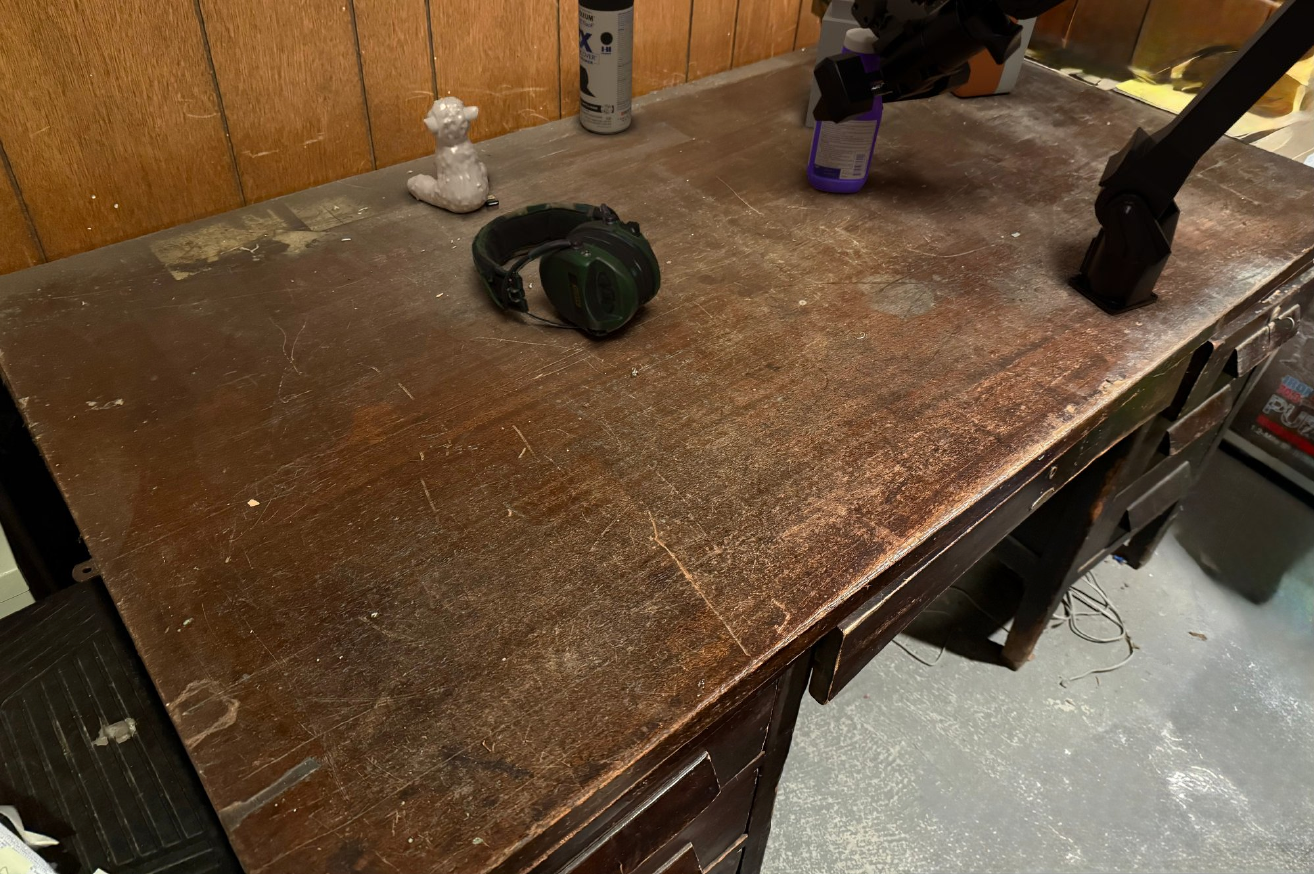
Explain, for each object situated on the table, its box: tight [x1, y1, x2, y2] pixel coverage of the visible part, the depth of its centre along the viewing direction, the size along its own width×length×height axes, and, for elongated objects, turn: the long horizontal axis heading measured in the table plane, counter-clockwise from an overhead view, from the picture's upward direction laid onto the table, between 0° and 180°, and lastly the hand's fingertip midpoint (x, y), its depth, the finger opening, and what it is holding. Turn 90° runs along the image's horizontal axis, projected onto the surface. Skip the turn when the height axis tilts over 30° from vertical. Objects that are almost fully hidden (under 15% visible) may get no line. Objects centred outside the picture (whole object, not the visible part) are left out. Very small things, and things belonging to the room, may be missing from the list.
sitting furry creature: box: [406, 96, 490, 214], centre depth 96 cm, size 10×9×12 cm
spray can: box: [577, 0, 635, 135], centre depth 109 cm, size 7×7×20 cm
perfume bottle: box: [804, 0, 870, 129], centre depth 113 cm, size 7×7×18 cm
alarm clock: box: [922, 0, 1038, 98], centre depth 125 cm, size 18×9×21 cm, turn 17°
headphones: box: [471, 201, 662, 337], centre depth 85 cm, size 13×13×20 cm
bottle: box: [806, 28, 885, 194], centre depth 100 cm, size 7×6×17 cm
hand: (845, 108), depth 100 cm, fingers open, 9 cm apart
